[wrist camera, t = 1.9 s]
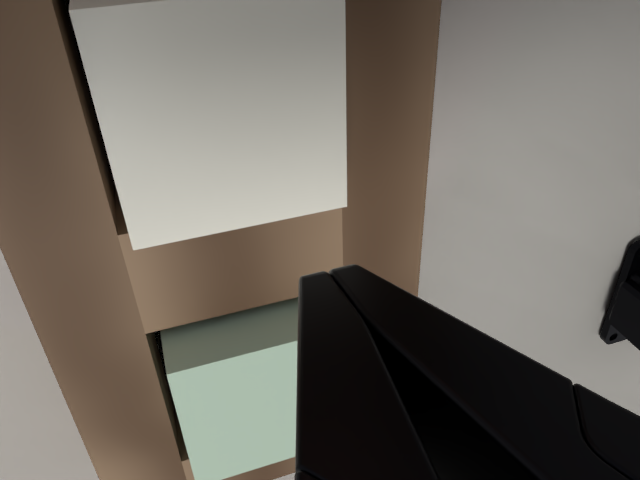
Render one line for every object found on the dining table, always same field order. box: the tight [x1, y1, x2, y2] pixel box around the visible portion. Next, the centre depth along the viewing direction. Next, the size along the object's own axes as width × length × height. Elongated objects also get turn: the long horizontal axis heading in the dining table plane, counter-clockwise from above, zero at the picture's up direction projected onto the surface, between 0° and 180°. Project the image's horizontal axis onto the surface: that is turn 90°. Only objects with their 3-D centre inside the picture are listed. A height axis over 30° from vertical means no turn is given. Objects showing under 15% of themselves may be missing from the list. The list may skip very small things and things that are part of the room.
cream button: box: [69, 0, 347, 250], centre depth 14 cm, size 6×6×3 cm
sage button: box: [160, 297, 298, 480], centre depth 20 cm, size 6×6×3 cm
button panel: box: [0, 0, 441, 480], centre depth 15 cm, size 12×32×3 cm, turn 2°
